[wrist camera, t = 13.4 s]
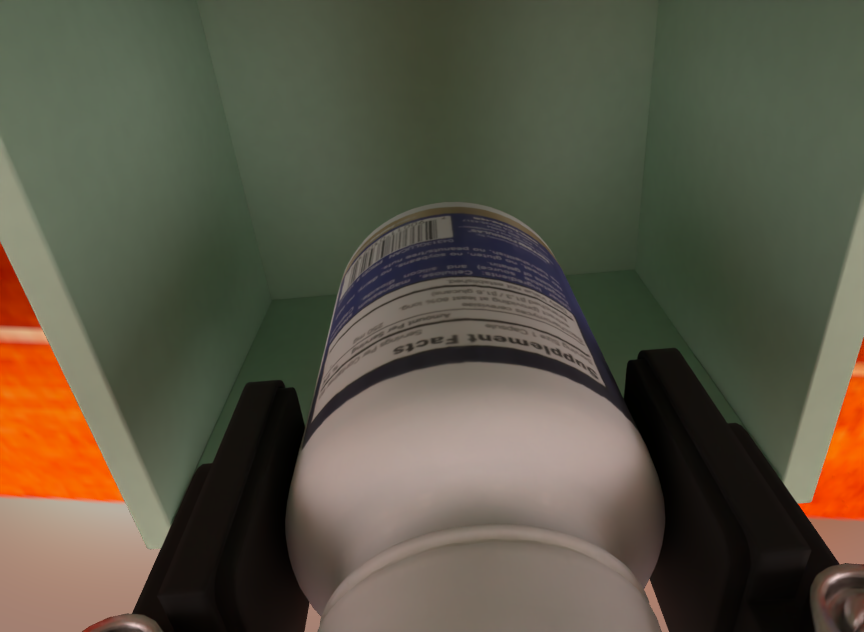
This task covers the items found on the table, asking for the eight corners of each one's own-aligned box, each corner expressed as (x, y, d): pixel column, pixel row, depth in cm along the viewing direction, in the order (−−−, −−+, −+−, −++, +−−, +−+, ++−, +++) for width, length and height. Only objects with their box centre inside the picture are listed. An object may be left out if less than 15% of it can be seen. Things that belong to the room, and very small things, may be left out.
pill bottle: (526, 408, 16) (641, 892, 8) (325, 374, 16) (212, 862, 7) (597, 221, 14) (888, 647, 5) (359, 170, 13) (241, 565, 4)
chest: (647, 276, 24) (811, 503, 14) (260, 308, 25) (146, 551, 14) (685, -106, 18) (1036, -203, 8) (166, -53, 18) (-155, -76, 8)
